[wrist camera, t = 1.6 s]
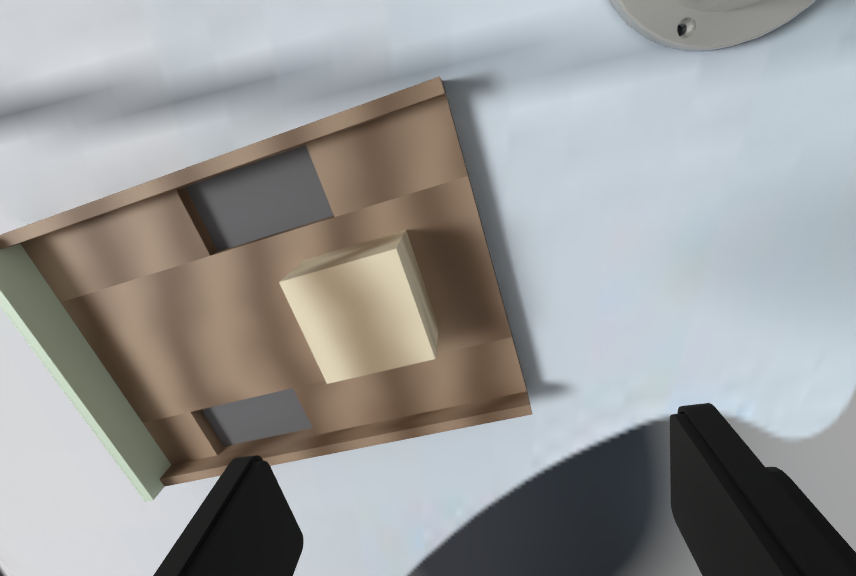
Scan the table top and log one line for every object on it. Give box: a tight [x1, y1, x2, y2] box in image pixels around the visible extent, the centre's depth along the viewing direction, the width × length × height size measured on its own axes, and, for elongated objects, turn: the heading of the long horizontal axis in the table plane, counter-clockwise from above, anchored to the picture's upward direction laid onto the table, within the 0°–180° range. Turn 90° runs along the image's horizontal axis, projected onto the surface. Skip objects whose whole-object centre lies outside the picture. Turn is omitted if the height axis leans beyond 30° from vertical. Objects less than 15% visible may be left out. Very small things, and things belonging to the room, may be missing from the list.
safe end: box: [0, 244, 171, 501], centre depth 31 cm, size 1×22×4 cm, turn 17°
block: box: [279, 230, 439, 384], centre depth 26 cm, size 7×7×4 cm
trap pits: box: [186, 145, 334, 446], centre depth 30 cm, size 17×20×1 cm
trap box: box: [0, 77, 532, 486], centre depth 29 cm, size 30×22×3 cm
